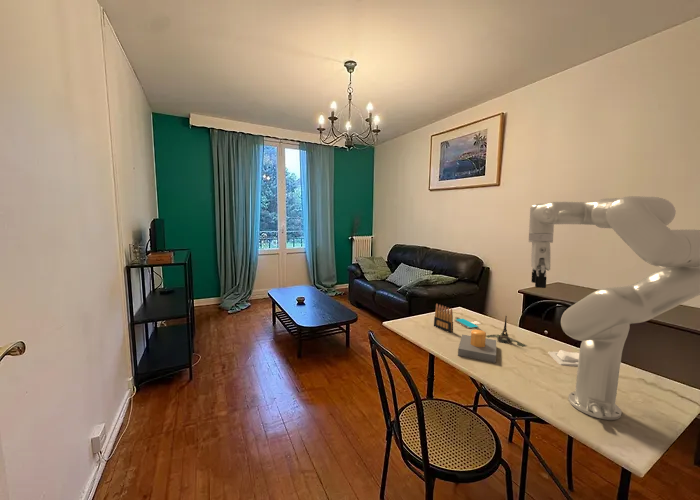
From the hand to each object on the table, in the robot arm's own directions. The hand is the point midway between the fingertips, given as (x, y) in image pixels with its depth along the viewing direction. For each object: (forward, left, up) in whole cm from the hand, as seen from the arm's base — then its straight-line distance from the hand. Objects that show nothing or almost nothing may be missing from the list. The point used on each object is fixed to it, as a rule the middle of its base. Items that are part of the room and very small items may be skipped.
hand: (538, 285), depth 113 cm
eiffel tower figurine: (+23, +8, -33) cm, 41 cm away
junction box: (+6, +19, -32) cm, 38 cm away
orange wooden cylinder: (+6, +19, -29) cm, 35 cm away
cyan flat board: (+39, +25, -33) cm, 56 cm away
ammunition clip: (+25, +36, -32) cm, 55 cm away
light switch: (+14, -15, -33) cm, 39 cm away
